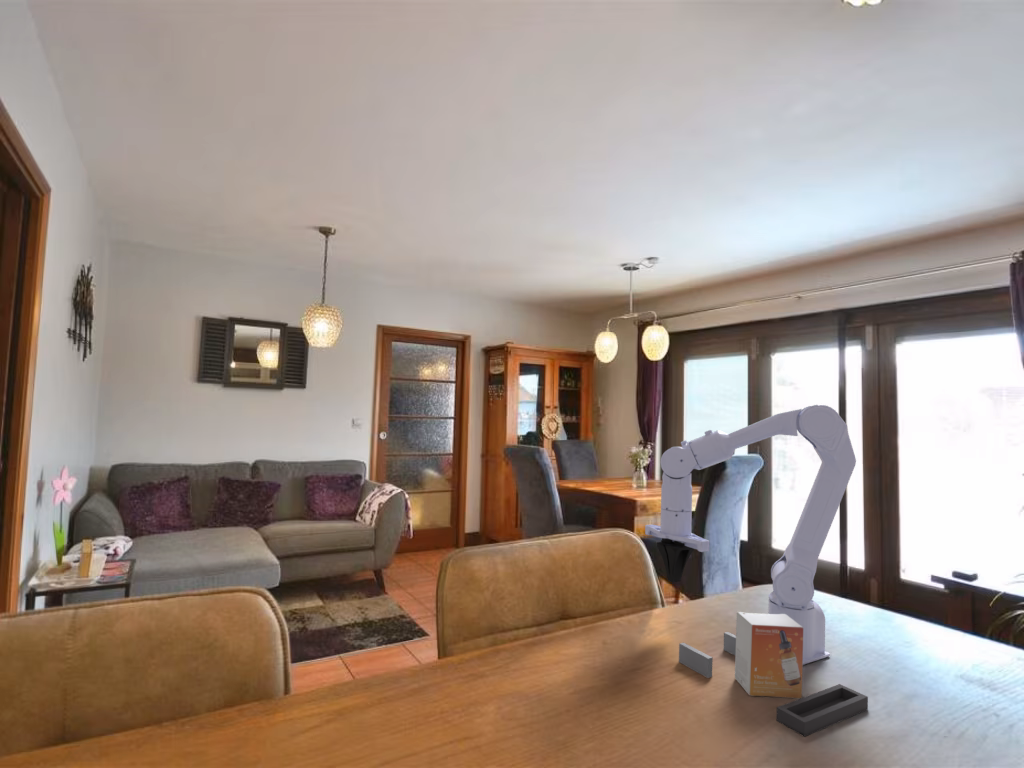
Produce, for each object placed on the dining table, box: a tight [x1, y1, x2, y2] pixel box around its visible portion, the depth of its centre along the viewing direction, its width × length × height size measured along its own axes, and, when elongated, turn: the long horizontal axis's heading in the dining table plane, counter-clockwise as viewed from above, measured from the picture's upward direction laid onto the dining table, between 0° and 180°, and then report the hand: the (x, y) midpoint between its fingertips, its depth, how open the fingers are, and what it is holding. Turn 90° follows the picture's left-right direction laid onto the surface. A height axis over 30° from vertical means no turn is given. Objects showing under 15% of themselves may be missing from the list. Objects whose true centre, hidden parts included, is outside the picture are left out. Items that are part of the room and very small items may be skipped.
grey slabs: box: [678, 631, 736, 679], centre depth 91 cm, size 12×6×3 cm, turn 120°
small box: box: [734, 611, 804, 700], centre depth 84 cm, size 8×6×10 cm
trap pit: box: [775, 683, 869, 737], centre depth 76 cm, size 15×4×2 cm, turn 120°
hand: (674, 580), depth 105 cm, fingers closed
